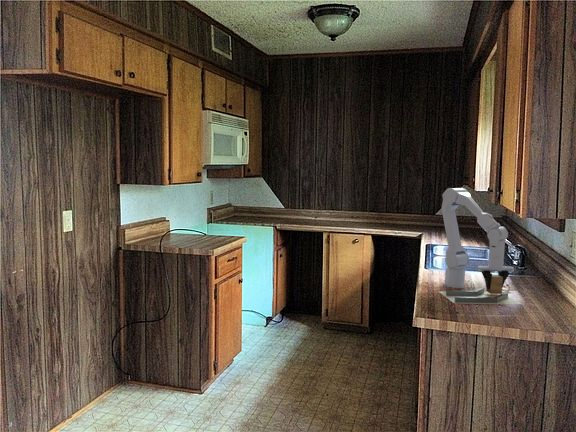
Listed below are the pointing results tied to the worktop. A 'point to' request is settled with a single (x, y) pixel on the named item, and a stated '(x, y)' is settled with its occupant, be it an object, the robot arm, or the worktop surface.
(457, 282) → the robot arm
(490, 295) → the channel board
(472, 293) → the rails
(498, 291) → the walnut block
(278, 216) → the worktop surface
